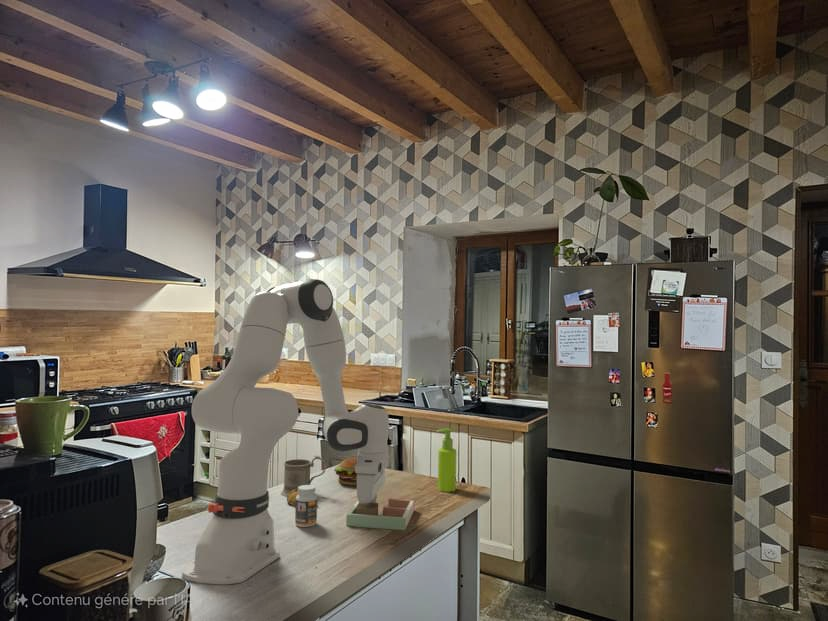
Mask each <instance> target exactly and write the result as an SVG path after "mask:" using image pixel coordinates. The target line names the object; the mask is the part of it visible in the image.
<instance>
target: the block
mask: <svg viewBox="0 0 828 621" xmlns="http://www.w3.org/2000/svg"><path fill="white" fill-rule="evenodd" d="M355 514H364V515H377V516H379V502H376V503H361V502H359V503H358V505H357V507H356V508H355Z"/></svg>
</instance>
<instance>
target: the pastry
mask: <svg viewBox="0 0 828 621" xmlns="http://www.w3.org/2000/svg"><path fill="white" fill-rule="evenodd" d="M297 495H299V493H298V489H295V490H292V492H290V493H289V495H288V497H286V502H287V503H288V504H289V505H291V506H293V507H296V497H297Z"/></svg>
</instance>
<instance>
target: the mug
mask: <svg viewBox="0 0 828 621" xmlns="http://www.w3.org/2000/svg"><path fill="white" fill-rule="evenodd" d="M313 457H314V458H312V460H309V459H303V458H301V459H300V458H298V459H297V458H295V459H290V460H289V459H288V460H286V461H284V463H283V465H284V472H283V473H284V474H283V475H284V477H283V478H284V479H283V480H284V481H283V488H282V489H283V490H282V491H280V495H281V496H283V497H286V498H287V497H288V495H289V493H290V492H292V490H295V489H298V487H299V486H302V485H311V483H312V481H314V479H315V478H318V477H320V476H322V475H323V474H324V473H325V472H326V469H327V463H326V461H325V459H324V458H322V457H321V456H320V455H314V456H313ZM315 460H320V461H322V462H323V464H324V467H323V470H322V472H321V473H319V474H316V475H314V476H312V477H311V468H313V467H315V463H314V461H315Z"/></svg>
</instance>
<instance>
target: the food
mask: <svg viewBox="0 0 828 621" xmlns="http://www.w3.org/2000/svg"><path fill="white" fill-rule="evenodd" d="M356 463H357V457H355V456H354V457H348V458H345V459H344V460H342V461H341V462H340V464H339V465H337V466H336V467H335V468H334V472H335V474H336V475H337V476H338V479H337V481H338V483H340V484H342V485H346V486H356V487H357V474H358V473H355V465H356Z"/></svg>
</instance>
